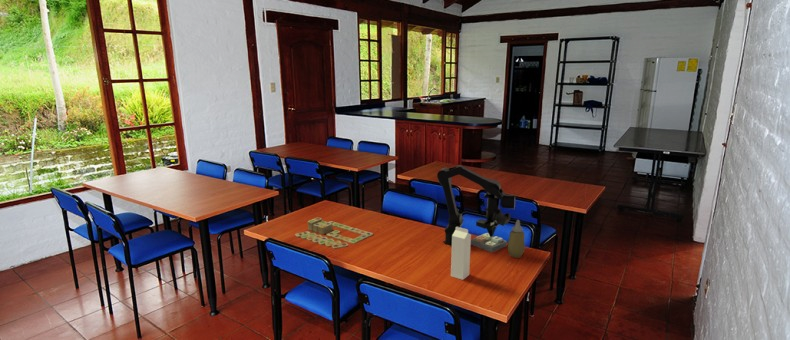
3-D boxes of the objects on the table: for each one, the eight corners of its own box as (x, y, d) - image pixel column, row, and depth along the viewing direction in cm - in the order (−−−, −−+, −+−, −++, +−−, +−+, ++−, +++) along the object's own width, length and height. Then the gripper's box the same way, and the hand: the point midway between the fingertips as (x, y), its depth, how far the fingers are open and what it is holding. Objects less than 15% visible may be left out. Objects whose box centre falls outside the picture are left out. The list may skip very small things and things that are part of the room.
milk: (457, 271, 188) (458, 224, 183) (469, 275, 185) (471, 227, 180) (450, 276, 183) (452, 228, 178) (462, 280, 180) (464, 231, 175)
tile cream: (491, 249, 209) (491, 245, 208) (484, 246, 212) (485, 242, 211) (496, 246, 211) (496, 243, 211) (489, 244, 214) (489, 240, 214)
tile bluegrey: (497, 243, 212) (498, 240, 211) (491, 241, 215) (491, 237, 214) (502, 241, 214) (502, 238, 214) (495, 239, 217) (496, 235, 217)
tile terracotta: (481, 242, 213) (481, 239, 212) (475, 240, 216) (475, 236, 215) (486, 240, 215) (486, 237, 215) (480, 238, 218) (480, 234, 218)
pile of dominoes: (292, 236, 228) (291, 226, 227) (327, 222, 249) (327, 213, 248) (340, 252, 208) (339, 242, 207) (374, 235, 230) (374, 225, 228)
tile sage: (487, 240, 216) (488, 236, 216) (481, 237, 219) (481, 234, 219) (492, 238, 219) (492, 234, 218) (486, 236, 222) (486, 232, 221)
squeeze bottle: (515, 260, 199) (517, 224, 194) (503, 253, 206) (505, 218, 201) (527, 256, 202) (530, 221, 198) (515, 250, 209) (518, 216, 205)
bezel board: (492, 252, 207) (492, 247, 206) (470, 244, 216) (470, 239, 216) (506, 245, 215) (507, 241, 214) (485, 238, 224) (485, 233, 224)
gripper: (495, 215, 195) (493, 246, 198) (518, 206, 207) (516, 236, 210) (475, 209, 203) (474, 239, 206) (499, 201, 215) (497, 230, 218)
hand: (491, 236), depth 210 cm, fingers closed
